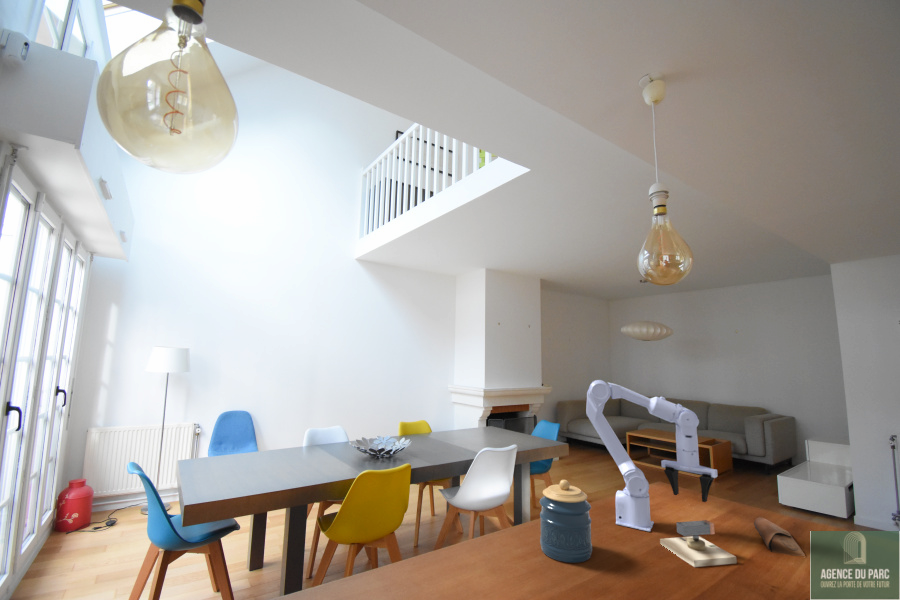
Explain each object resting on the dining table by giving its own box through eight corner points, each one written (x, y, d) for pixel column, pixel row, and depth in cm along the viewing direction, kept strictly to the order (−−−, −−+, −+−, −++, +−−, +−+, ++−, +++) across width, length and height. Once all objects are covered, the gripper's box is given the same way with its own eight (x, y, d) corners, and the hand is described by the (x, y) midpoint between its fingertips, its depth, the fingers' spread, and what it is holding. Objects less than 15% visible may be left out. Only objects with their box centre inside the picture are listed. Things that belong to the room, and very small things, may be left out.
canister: (601, 551, 106) (598, 480, 109) (578, 570, 97) (576, 491, 99) (555, 536, 115) (554, 470, 117) (530, 551, 106) (529, 479, 108)
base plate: (694, 567, 99) (693, 553, 99) (660, 544, 111) (659, 532, 111) (736, 563, 101) (735, 550, 102) (698, 541, 113) (698, 530, 113)
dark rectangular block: (677, 539, 107) (676, 522, 107) (707, 536, 108) (706, 520, 109) (684, 543, 104) (683, 525, 105) (715, 540, 106) (714, 523, 107)
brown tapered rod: (810, 558, 104) (790, 531, 106) (781, 568, 106) (763, 541, 109) (788, 532, 120) (772, 509, 123) (764, 541, 122) (748, 518, 125)
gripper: (656, 447, 125) (658, 494, 123) (710, 456, 115) (713, 507, 113) (665, 444, 130) (668, 489, 128) (718, 452, 119) (721, 502, 117)
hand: (690, 497), depth 121 cm, fingers open, 7 cm apart
